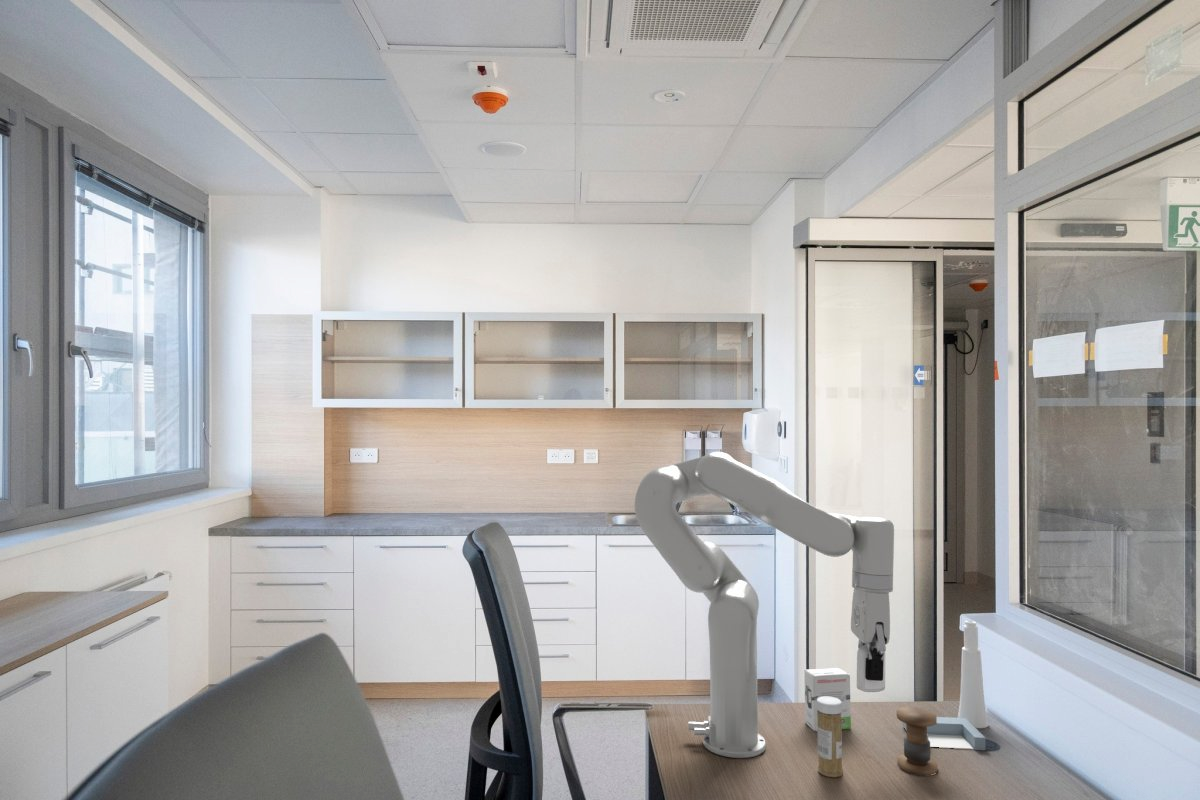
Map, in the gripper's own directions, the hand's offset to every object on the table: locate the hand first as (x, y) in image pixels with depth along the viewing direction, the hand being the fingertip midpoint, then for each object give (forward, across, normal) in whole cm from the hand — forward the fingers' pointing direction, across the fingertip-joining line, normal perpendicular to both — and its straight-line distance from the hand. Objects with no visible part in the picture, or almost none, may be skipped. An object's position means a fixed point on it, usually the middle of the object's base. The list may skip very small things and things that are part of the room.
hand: (870, 674), depth 141 cm
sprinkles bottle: (+17, +6, -9) cm, 20 cm away
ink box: (+17, -16, -4) cm, 24 cm away
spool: (+16, +2, +8) cm, 18 cm away
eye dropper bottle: (+3, 0, 0) cm, 3 cm away
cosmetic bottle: (+16, -20, +28) cm, 38 cm away
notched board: (+16, -12, +18) cm, 27 cm away
